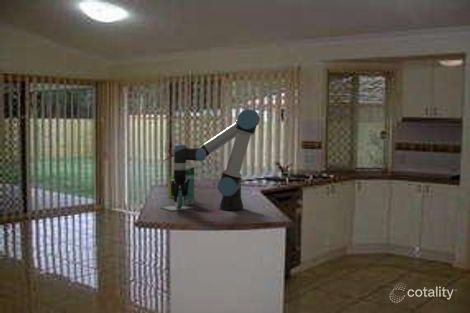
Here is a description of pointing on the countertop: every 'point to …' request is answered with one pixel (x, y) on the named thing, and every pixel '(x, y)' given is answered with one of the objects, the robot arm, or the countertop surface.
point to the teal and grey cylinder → (179, 198)
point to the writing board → (173, 208)
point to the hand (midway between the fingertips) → (179, 206)
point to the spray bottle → (172, 175)
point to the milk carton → (189, 185)
